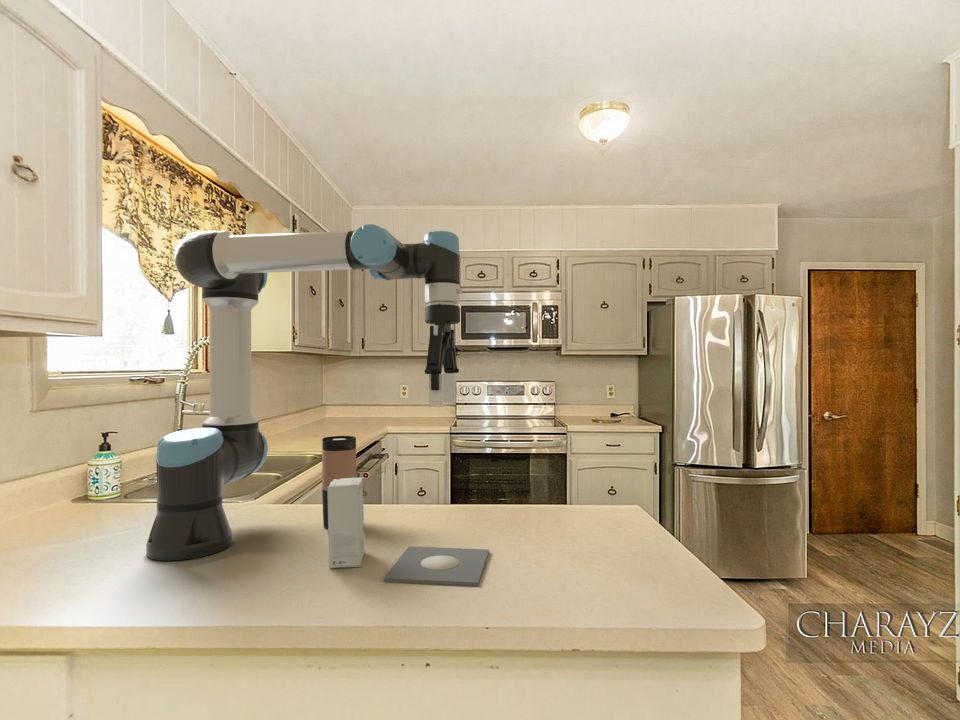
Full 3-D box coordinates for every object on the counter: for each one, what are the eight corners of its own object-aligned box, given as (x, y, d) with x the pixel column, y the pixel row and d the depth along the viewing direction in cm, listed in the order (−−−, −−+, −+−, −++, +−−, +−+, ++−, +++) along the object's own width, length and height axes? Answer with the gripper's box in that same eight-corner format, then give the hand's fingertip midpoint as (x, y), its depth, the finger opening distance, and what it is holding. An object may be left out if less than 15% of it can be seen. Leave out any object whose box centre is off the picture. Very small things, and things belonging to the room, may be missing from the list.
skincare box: (361, 567, 97) (360, 484, 97) (326, 569, 96) (326, 486, 96) (364, 551, 105) (364, 475, 105) (333, 553, 104) (332, 476, 104)
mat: (383, 581, 90) (383, 577, 90) (408, 549, 106) (408, 545, 106) (477, 586, 88) (477, 581, 88) (489, 552, 104) (489, 548, 104)
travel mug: (361, 521, 126) (360, 435, 126) (350, 531, 118) (349, 440, 119) (329, 520, 127) (329, 435, 127) (316, 530, 119) (316, 440, 119)
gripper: (448, 297, 102) (448, 408, 102) (469, 310, 127) (469, 400, 127) (409, 298, 103) (410, 408, 103) (438, 311, 128) (438, 400, 128)
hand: (443, 404), depth 115 cm, fingers open, 13 cm apart
